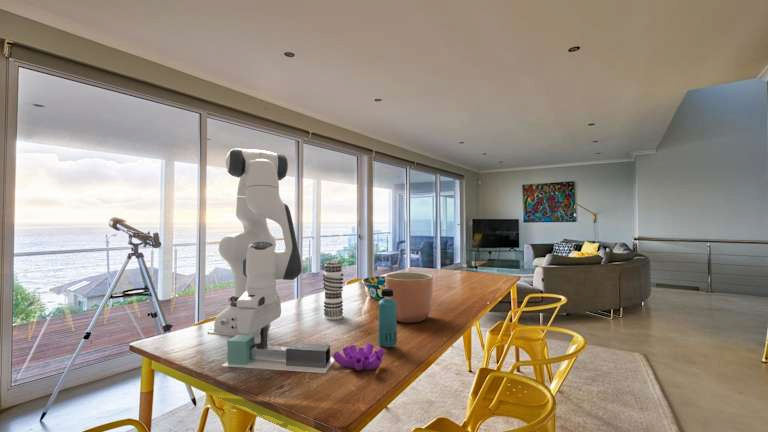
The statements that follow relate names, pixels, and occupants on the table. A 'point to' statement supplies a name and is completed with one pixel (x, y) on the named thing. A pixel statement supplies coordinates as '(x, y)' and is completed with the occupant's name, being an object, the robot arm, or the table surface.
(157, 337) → the table surface
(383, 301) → the beverage bottle
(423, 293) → the planter
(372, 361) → the purple coral
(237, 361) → the socket block
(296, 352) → the outer sleeve
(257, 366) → the mounting board
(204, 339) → the table surface
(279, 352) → the sliding bolt
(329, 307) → the decorative candle
